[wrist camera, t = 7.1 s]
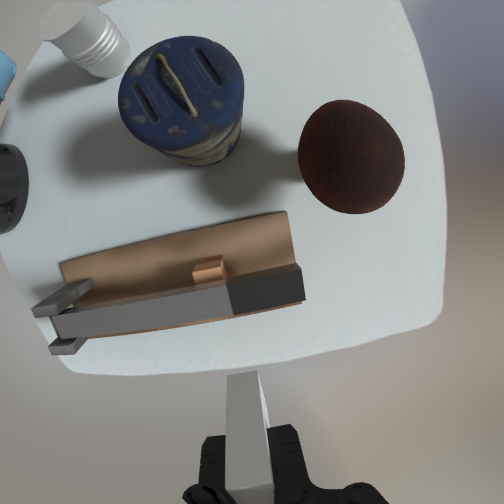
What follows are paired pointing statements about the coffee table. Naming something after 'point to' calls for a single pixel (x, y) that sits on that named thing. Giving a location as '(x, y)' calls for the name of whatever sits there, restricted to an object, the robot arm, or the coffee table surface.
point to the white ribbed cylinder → (86, 37)
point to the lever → (184, 304)
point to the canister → (184, 99)
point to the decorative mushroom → (350, 157)
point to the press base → (171, 267)
